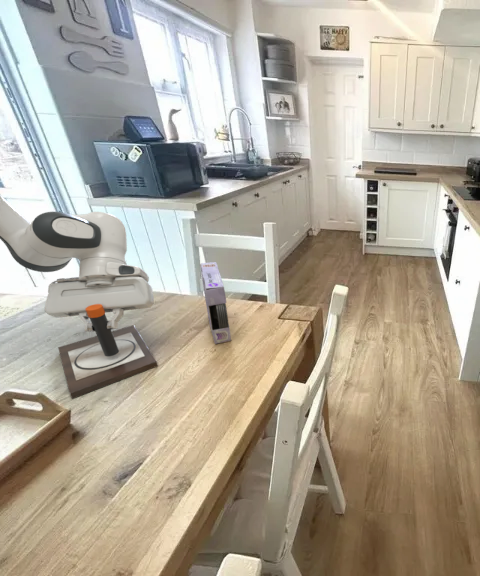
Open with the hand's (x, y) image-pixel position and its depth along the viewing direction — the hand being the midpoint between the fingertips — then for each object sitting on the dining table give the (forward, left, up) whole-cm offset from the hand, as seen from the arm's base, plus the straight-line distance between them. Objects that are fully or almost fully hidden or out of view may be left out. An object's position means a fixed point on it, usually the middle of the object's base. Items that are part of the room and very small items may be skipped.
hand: (101, 330), depth 76 cm
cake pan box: (+23, +11, -10) cm, 27 cm away
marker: (0, +1, -7) cm, 7 cm away
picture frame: (-2, +3, -10) cm, 11 cm away
